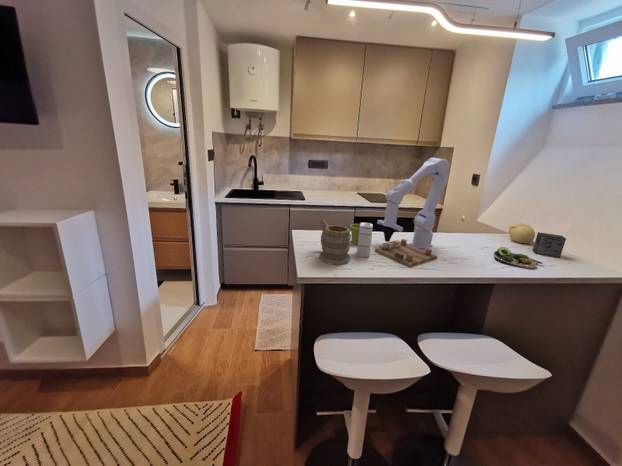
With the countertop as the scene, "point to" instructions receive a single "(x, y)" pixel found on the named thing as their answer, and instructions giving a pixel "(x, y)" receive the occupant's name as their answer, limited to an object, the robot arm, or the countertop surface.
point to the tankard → (335, 244)
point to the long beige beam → (391, 245)
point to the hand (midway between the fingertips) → (387, 241)
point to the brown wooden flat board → (407, 254)
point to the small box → (549, 245)
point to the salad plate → (514, 258)
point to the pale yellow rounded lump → (521, 233)
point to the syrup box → (364, 239)
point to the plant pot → (355, 232)
